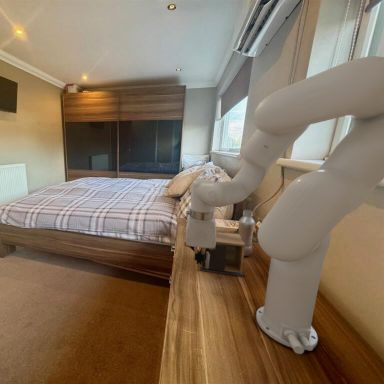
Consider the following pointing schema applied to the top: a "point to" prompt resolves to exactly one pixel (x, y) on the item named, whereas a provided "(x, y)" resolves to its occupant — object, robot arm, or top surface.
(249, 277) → the top surface
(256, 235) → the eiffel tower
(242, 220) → the plastic bottle
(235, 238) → the cabinet
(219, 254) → the sliding door
